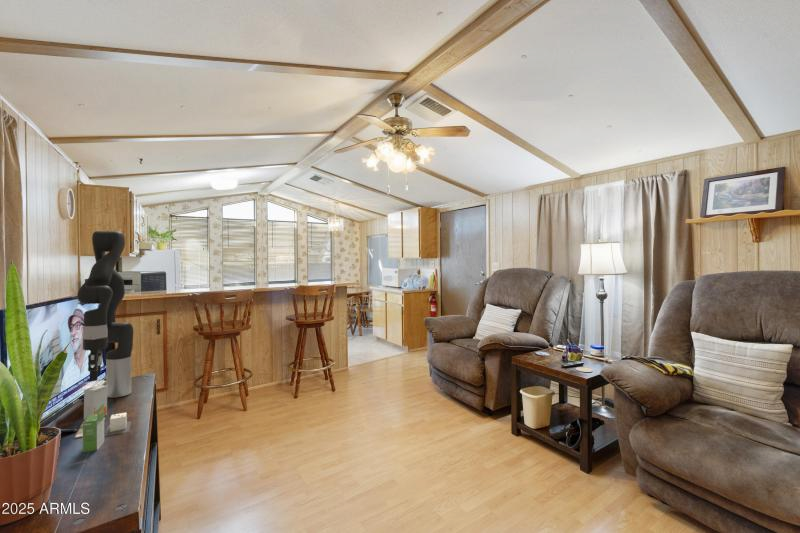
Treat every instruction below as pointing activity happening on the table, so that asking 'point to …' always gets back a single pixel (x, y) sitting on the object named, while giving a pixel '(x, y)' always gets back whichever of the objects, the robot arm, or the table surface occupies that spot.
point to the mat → (118, 430)
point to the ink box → (93, 431)
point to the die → (118, 421)
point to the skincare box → (95, 400)
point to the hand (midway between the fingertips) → (95, 377)
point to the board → (80, 431)
